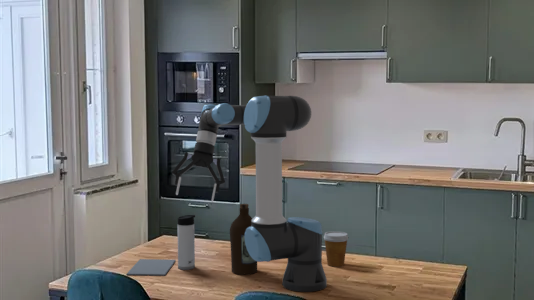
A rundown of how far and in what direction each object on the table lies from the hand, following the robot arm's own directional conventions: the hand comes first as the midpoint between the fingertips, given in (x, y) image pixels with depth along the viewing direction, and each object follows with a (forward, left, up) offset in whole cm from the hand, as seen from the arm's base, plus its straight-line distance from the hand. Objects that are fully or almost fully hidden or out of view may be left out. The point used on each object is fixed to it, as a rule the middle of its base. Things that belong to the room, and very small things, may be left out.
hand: (194, 197), depth 250 cm
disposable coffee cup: (+3, -53, -26) cm, 60 cm away
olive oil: (-8, -19, -26) cm, 34 cm away
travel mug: (-4, +3, -26) cm, 27 cm away
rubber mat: (-5, +16, -26) cm, 31 cm away
